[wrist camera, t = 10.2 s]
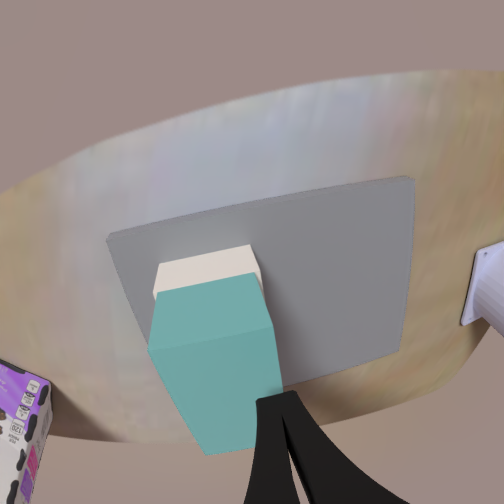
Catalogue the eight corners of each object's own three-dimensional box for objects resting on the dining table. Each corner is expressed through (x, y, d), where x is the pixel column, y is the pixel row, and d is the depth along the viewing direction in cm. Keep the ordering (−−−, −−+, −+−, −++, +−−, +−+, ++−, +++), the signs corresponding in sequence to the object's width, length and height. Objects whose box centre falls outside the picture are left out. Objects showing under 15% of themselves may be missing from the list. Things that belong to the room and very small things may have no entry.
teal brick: (254, 271, 14) (273, 326, 11) (274, 385, 18) (290, 439, 14) (157, 292, 14) (147, 351, 10) (201, 400, 17) (205, 455, 14)
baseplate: (405, 176, 18) (446, 192, 14) (393, 343, 24) (416, 374, 20) (110, 233, 16) (89, 265, 13) (179, 397, 22) (179, 438, 19)
